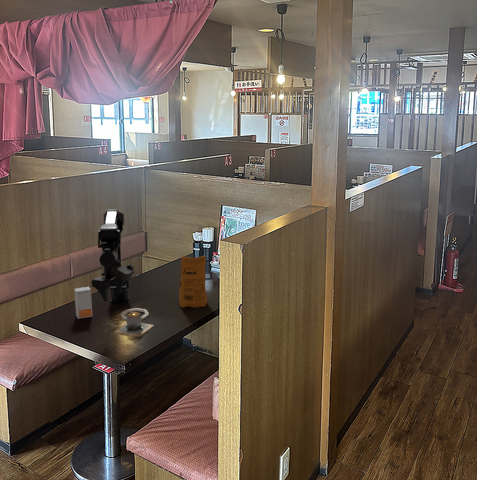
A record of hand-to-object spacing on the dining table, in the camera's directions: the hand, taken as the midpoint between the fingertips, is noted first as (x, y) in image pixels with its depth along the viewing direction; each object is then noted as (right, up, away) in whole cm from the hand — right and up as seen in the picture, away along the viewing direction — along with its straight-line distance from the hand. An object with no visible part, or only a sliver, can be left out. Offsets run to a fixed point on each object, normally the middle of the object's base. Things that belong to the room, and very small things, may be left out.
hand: (112, 297), depth 200 cm
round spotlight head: (+8, -12, 0) cm, 15 cm away
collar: (+6, -9, +13) cm, 17 cm away
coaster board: (+8, -12, 0) cm, 15 cm away
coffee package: (+29, -6, +26) cm, 40 cm away
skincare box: (-15, -9, +12) cm, 21 cm away
